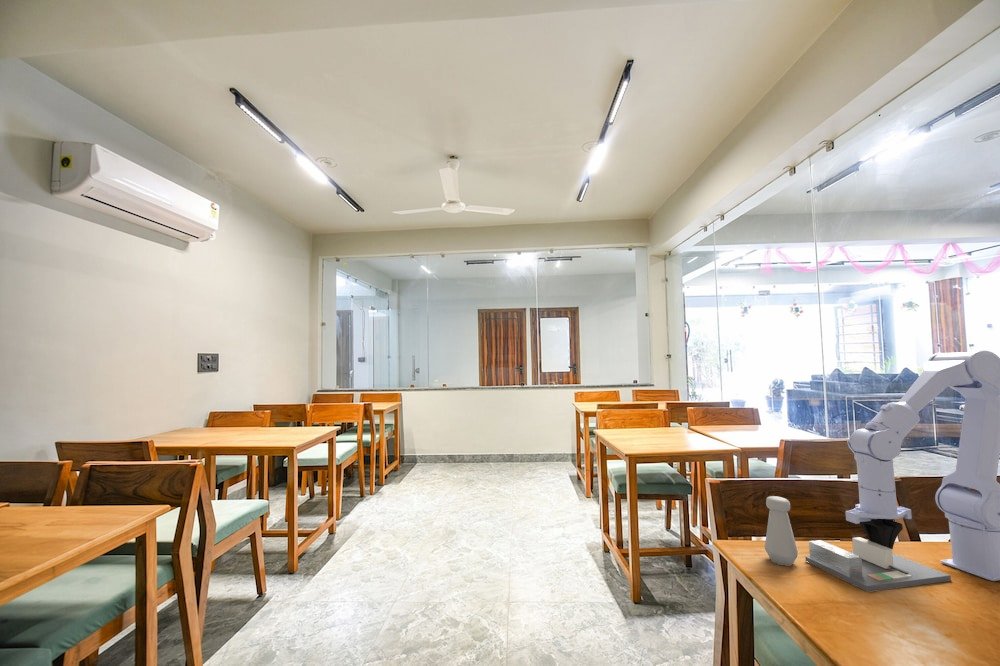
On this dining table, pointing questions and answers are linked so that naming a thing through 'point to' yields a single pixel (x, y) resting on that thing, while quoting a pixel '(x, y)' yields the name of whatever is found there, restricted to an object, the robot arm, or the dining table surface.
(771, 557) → the salt shaker
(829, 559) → the grey block
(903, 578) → the base
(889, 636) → the dining table surface
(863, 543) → the white rectangular bar
